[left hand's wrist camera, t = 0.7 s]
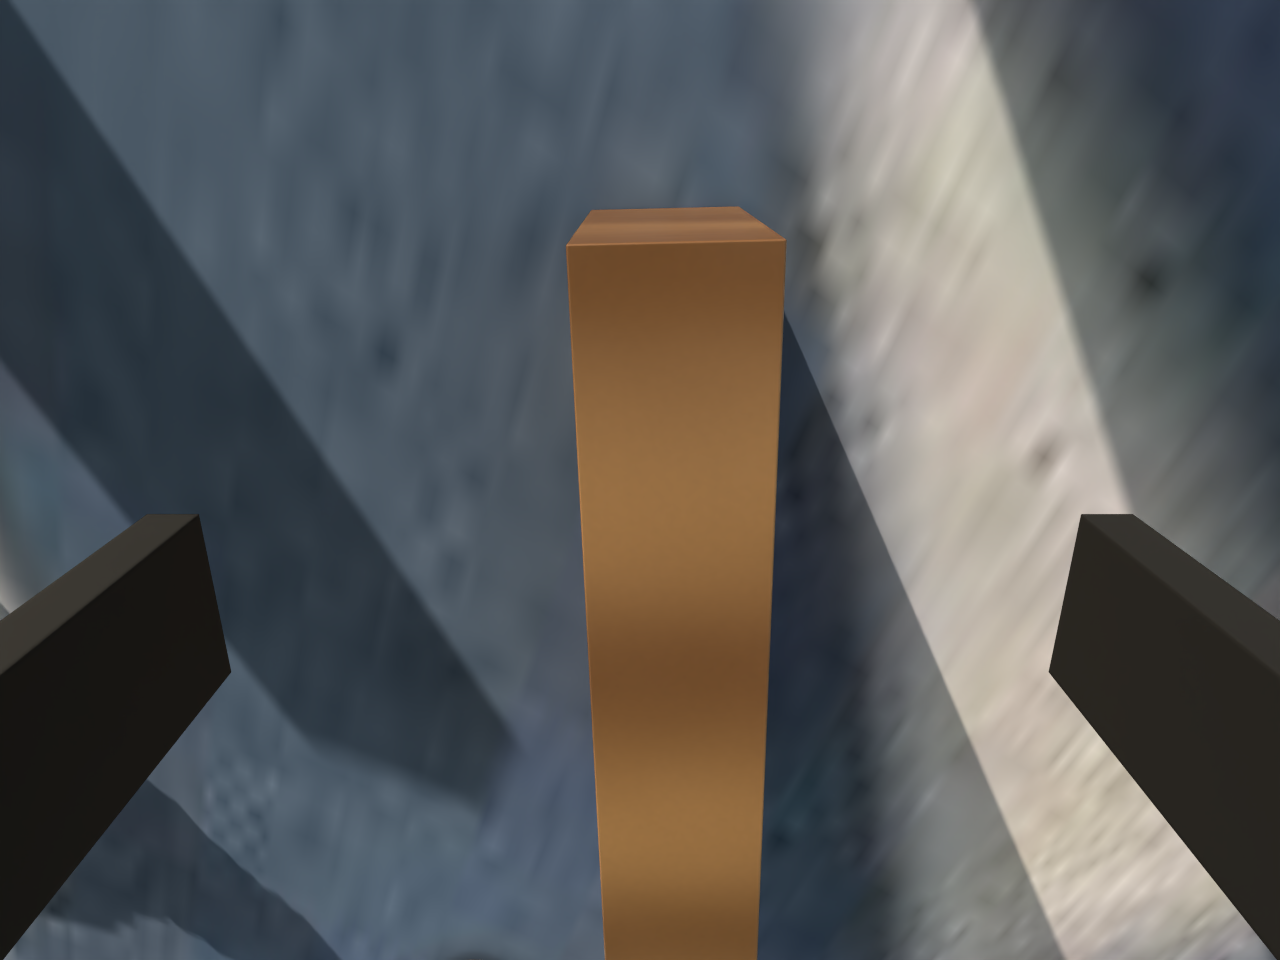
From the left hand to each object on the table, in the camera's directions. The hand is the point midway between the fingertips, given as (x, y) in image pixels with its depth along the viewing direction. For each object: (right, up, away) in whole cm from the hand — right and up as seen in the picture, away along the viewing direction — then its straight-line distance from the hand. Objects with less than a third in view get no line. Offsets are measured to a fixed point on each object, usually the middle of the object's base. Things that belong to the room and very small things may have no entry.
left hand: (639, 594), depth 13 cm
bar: (+1, 0, +18) cm, 18 cm away
